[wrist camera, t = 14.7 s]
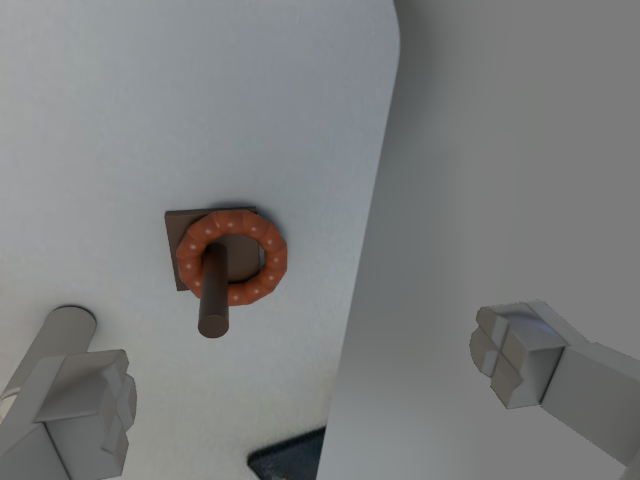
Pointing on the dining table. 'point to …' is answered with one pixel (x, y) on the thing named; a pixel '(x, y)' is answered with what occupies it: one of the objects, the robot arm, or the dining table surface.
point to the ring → (225, 225)
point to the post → (215, 267)
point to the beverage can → (51, 347)
